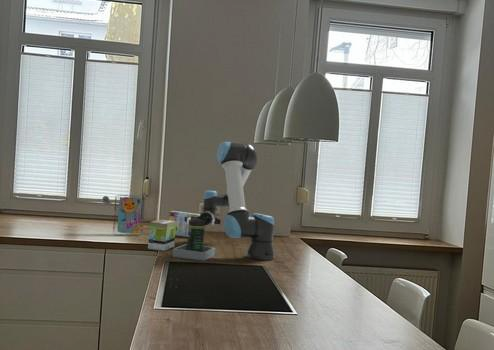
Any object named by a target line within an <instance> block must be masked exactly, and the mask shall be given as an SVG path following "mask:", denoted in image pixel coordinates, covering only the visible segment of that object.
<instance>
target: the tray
mask: <svg viewBox="0 0 494 350" xmlns="http://www.w3.org/2000/svg"><path fill="white" fill-rule="evenodd" d="M216 250H217V249H216V247H212V246H204V245H203V252H198V251H190V250H187V243H185V244H183V245H182V244H181V245H180V246H177V247H173V249H172V257H173V258H182V259H188V260H189V259H190V260H196V261H203V262H204V261H207V260H208V259H211V258H213V257H215V256H216Z"/></svg>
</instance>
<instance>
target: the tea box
mask: <svg viewBox="0 0 494 350" xmlns="http://www.w3.org/2000/svg"><path fill="white" fill-rule="evenodd" d="M175 231H176V221H169V219H168V220H166V219H158V220H153V221H150V224H149V231H148V232H149V233H148V243H147V249H149V250H156V251H163V252H164V251H167V250H169V249H172V248H175V242H176V240H175V239H176V235H175Z"/></svg>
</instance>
